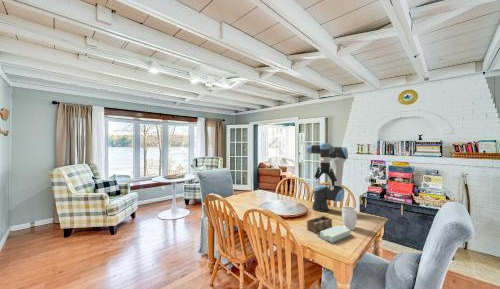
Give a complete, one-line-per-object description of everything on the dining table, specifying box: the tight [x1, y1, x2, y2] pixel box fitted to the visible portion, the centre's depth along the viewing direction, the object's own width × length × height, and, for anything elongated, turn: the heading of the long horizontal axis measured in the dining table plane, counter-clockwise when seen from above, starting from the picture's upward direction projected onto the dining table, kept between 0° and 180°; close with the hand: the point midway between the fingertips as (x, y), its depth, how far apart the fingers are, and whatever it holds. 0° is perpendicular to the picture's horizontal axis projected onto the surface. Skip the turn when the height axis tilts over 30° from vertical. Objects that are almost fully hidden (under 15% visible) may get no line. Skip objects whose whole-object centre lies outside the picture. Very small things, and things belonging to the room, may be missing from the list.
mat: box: [316, 233, 354, 245], centre depth 145 cm, size 22×13×1 cm, turn 120°
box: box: [306, 215, 333, 235], centre depth 157 cm, size 18×8×7 cm, turn 120°
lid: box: [319, 224, 351, 242], centre depth 144 cm, size 22×10×4 cm, turn 120°
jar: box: [341, 205, 358, 231], centre depth 158 cm, size 11×10×15 cm
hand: (325, 188), depth 167 cm, fingers open, 13 cm apart
